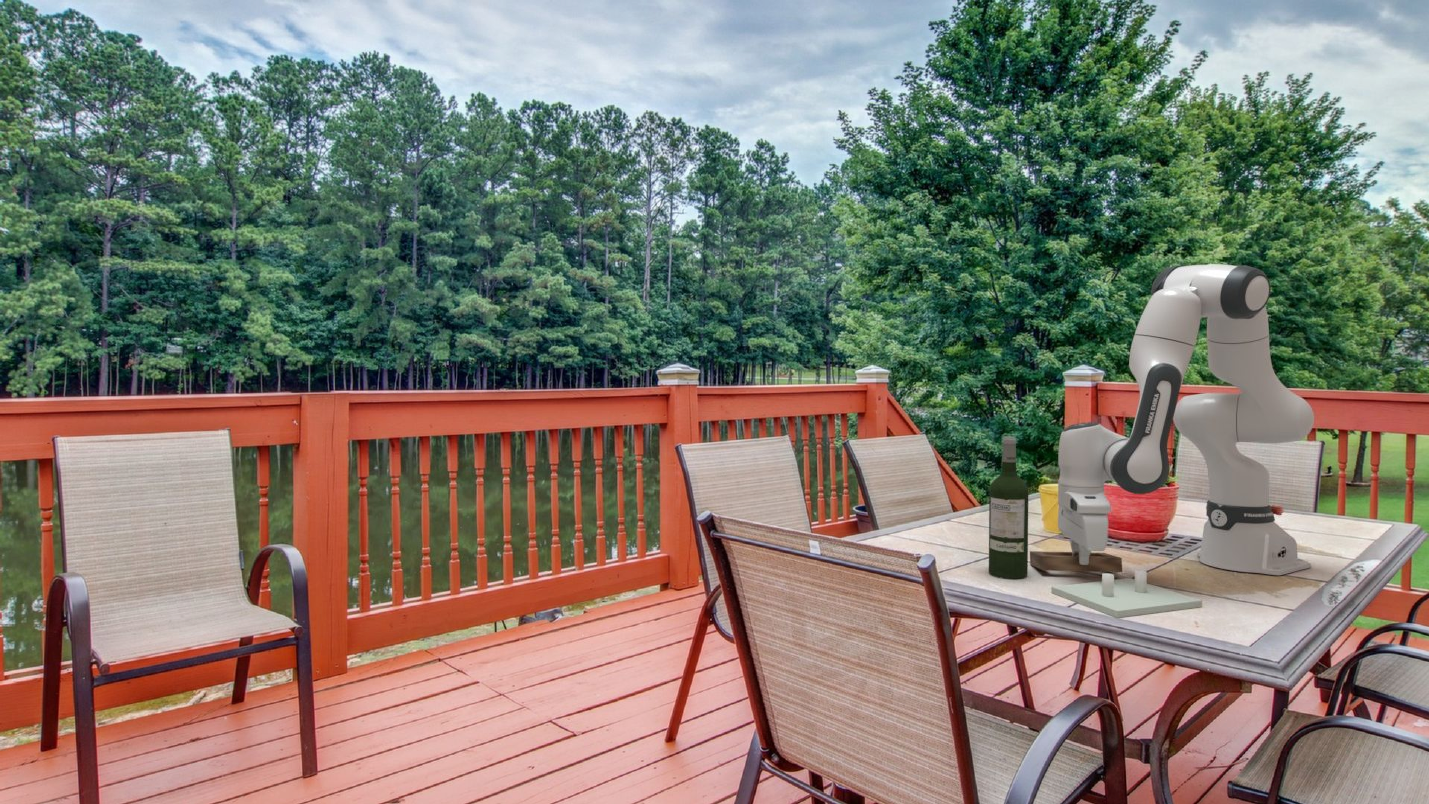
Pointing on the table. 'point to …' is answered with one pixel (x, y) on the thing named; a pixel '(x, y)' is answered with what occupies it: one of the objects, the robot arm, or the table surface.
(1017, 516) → the wine bottle
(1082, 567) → the frame
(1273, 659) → the table surface
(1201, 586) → the table surface
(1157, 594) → the board
